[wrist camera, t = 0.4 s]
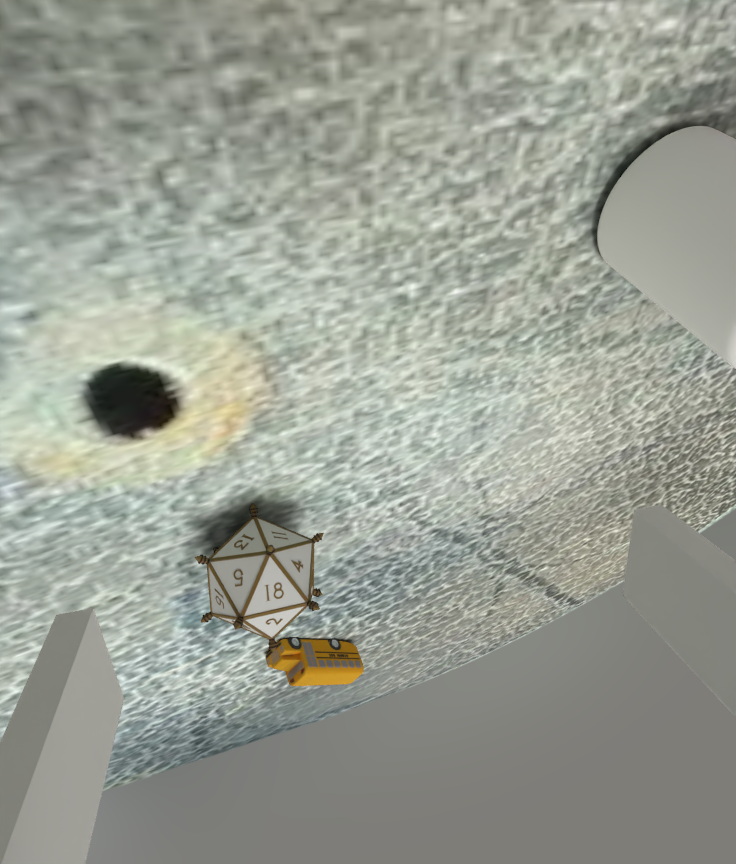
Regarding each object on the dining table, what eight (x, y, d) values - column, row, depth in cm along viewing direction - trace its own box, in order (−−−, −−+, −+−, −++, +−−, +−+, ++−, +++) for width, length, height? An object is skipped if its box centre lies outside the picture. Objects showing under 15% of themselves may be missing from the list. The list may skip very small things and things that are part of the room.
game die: (257, 474, 43) (364, 521, 38) (260, 567, 46) (359, 622, 41) (152, 525, 36) (267, 591, 31) (165, 629, 39) (270, 705, 34)
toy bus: (280, 634, 55) (290, 672, 52) (354, 637, 61) (366, 671, 59) (262, 652, 56) (271, 690, 54) (336, 652, 62) (347, 686, 60)
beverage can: (577, 279, 35) (723, 410, 27) (608, 140, 29) (807, 260, 21) (690, 244, 36) (860, 360, 28) (742, 105, 30) (976, 205, 22)
